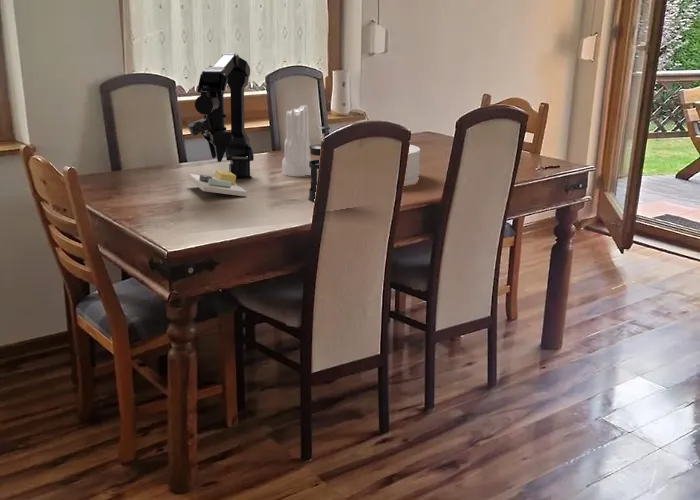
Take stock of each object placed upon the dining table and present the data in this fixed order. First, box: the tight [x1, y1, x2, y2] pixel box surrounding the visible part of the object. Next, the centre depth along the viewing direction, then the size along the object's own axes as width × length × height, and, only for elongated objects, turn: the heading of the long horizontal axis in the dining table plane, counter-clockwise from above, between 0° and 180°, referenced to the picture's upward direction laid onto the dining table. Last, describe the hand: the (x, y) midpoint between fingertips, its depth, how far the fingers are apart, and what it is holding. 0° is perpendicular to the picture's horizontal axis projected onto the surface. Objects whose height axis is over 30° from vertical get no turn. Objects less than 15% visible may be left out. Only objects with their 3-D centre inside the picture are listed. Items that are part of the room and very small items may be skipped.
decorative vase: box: [281, 104, 312, 177], centre depth 281 cm, size 11×11×25 cm
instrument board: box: [188, 169, 248, 197], centre depth 253 cm, size 14×20×4 cm
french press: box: [308, 126, 331, 203], centre depth 243 cm, size 12×9×23 cm
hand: (216, 159), depth 249 cm, fingers open, 7 cm apart
